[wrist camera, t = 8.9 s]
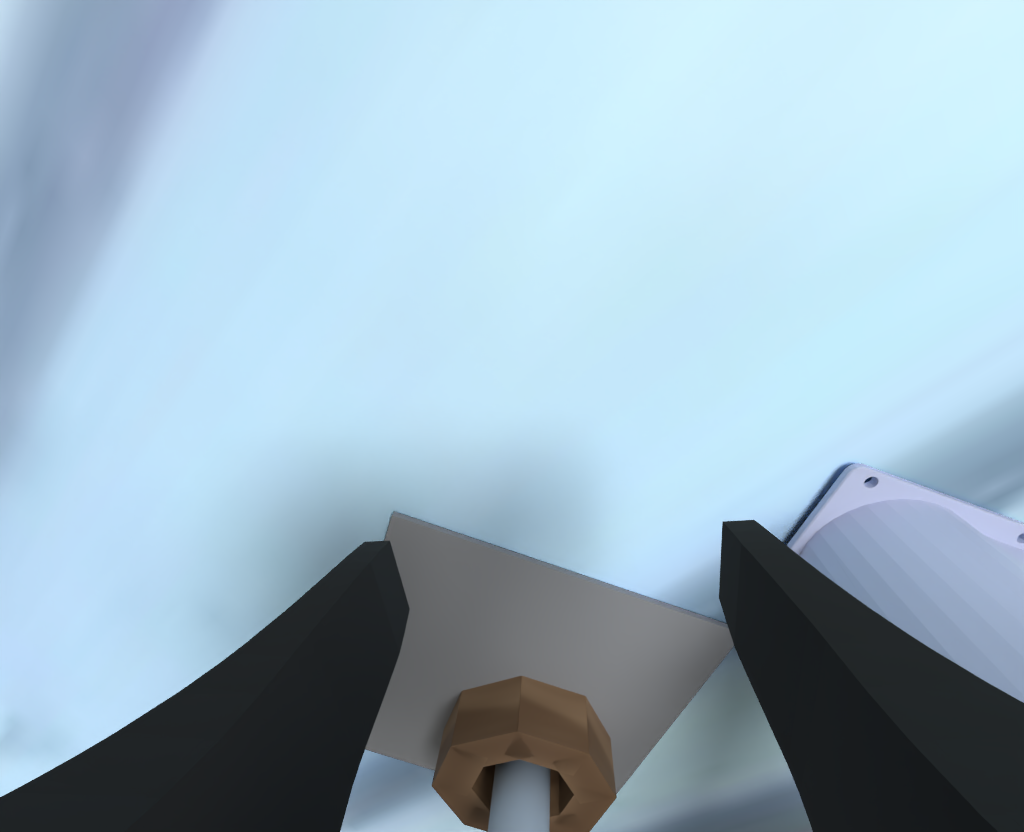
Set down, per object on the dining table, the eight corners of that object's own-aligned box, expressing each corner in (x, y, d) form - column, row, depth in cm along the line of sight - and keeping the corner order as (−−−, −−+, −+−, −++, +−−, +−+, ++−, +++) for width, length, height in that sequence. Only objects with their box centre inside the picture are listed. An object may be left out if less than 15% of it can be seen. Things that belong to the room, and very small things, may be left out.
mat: (741, 628, 23) (743, 633, 23) (595, 814, 31) (596, 819, 30) (393, 511, 22) (391, 515, 22) (328, 732, 30) (326, 737, 29)
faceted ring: (630, 710, 26) (638, 769, 23) (568, 796, 30) (569, 856, 27) (475, 660, 26) (466, 715, 23) (432, 754, 29) (419, 811, 26)
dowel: (557, 723, 27) (556, 914, 20) (542, 754, 28) (536, 944, 21) (507, 709, 27) (487, 896, 20) (493, 741, 28) (470, 927, 21)
